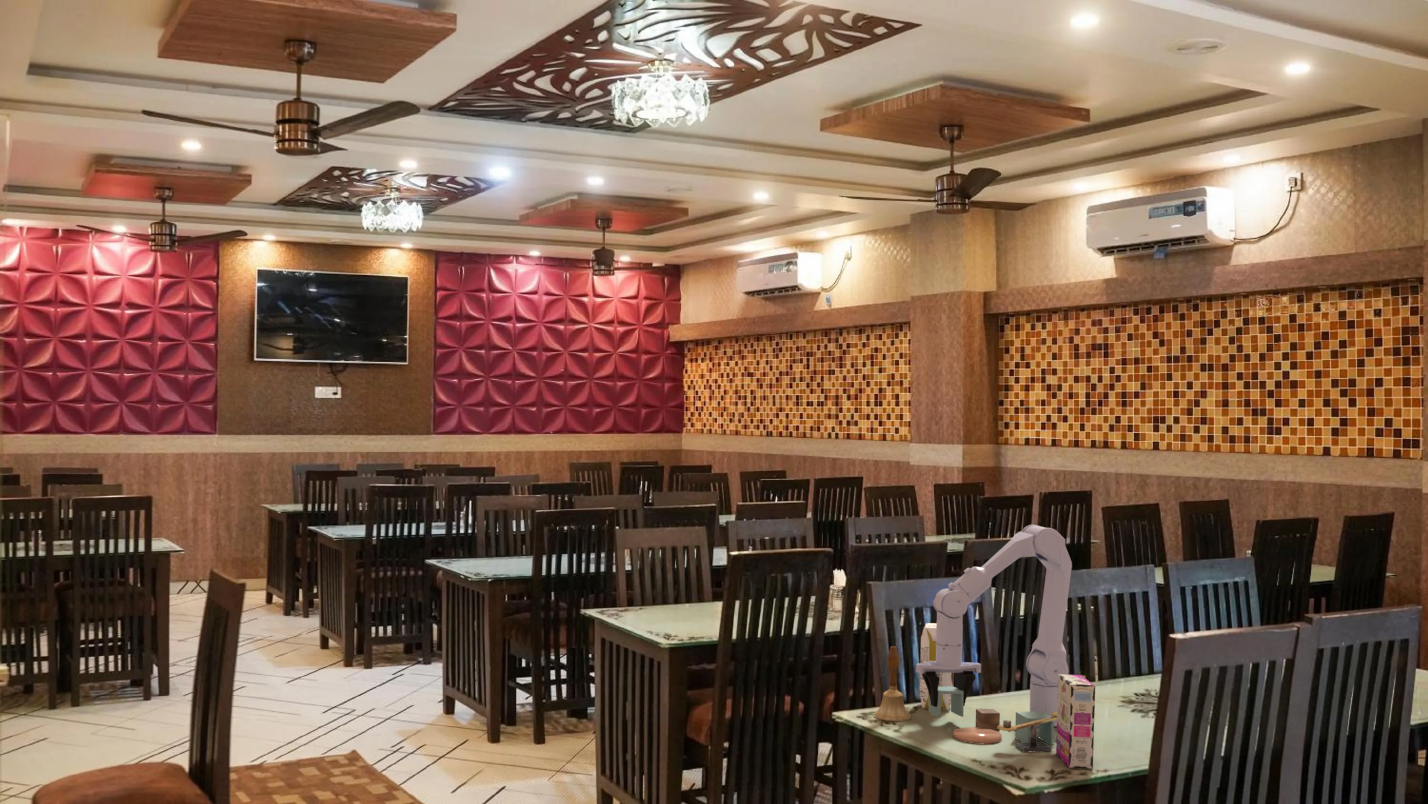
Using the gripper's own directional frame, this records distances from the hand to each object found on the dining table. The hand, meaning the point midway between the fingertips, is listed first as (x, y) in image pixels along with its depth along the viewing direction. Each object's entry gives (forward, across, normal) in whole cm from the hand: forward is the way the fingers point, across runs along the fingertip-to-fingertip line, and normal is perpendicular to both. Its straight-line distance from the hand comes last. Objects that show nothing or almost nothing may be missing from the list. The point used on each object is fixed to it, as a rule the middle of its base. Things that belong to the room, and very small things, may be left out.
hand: (947, 705), depth 278 cm
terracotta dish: (+4, -2, +12) cm, 13 cm away
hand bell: (+4, +10, -8) cm, 14 cm away
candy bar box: (+4, -14, +32) cm, 35 cm away
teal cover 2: (+4, -13, +16) cm, 21 cm away
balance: (+4, -10, +22) cm, 25 cm away
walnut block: (+4, -7, +5) cm, 10 cm away
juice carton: (+4, -4, -17) cm, 18 cm away
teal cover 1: (+2, 0, -1) cm, 2 cm away
